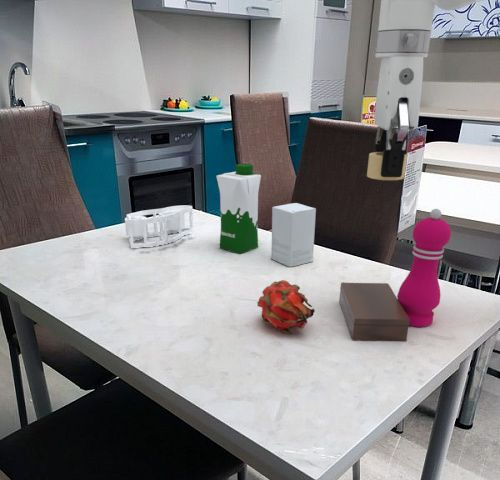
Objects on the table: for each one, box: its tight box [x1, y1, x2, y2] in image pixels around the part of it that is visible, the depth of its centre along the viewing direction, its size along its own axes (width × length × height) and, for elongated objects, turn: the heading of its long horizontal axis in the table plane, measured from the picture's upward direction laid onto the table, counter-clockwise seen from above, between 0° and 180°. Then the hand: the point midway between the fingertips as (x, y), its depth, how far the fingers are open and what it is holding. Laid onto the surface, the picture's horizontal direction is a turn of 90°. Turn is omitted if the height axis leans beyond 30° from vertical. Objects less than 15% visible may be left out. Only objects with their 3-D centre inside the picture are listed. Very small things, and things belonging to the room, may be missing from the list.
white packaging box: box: [270, 202, 317, 268], centre depth 117 cm, size 7×7×13 cm
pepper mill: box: [396, 208, 452, 328], centre depth 87 cm, size 7×7×20 cm
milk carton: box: [215, 163, 262, 255], centre depth 123 cm, size 9×9×20 cm
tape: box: [366, 151, 408, 181], centre depth 82 cm, size 6×6×4 cm
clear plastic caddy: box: [124, 204, 194, 249], centre depth 133 cm, size 20×11×7 cm, turn 126°
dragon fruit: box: [256, 279, 316, 334], centre depth 87 cm, size 8×8×12 cm
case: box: [338, 282, 410, 342], centre depth 90 cm, size 9×16×4 cm, turn 179°
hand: (386, 171), depth 82 cm, fingers closed on tape, 6 cm apart
